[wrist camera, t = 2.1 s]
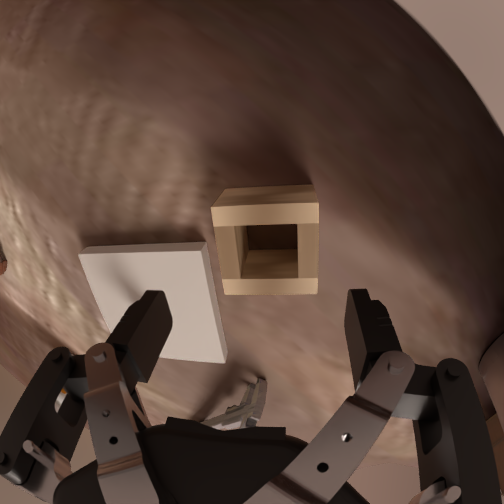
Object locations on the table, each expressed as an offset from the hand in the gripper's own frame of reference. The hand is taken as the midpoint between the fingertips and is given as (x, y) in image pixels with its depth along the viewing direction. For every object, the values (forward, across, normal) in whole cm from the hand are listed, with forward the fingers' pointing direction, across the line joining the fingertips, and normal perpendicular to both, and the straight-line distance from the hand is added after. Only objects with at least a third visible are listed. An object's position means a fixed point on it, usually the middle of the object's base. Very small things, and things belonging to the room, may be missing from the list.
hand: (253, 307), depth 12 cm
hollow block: (+10, 0, 0) cm, 10 cm away
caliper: (+10, +8, +25) cm, 28 cm away
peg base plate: (+10, +11, +7) cm, 16 cm away
